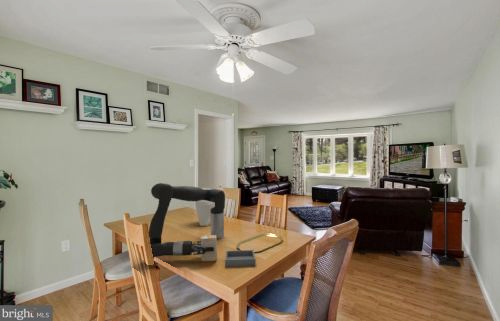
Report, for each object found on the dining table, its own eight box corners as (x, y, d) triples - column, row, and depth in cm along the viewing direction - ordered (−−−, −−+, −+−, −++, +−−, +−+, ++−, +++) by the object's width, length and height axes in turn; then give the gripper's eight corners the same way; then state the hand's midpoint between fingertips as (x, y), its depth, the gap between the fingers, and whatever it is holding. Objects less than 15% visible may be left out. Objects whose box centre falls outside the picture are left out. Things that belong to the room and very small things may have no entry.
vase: (200, 228, 187) (199, 191, 186) (192, 224, 198) (191, 189, 197) (216, 224, 196) (216, 189, 195) (208, 220, 207) (207, 187, 206)
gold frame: (288, 240, 161) (288, 238, 161) (251, 257, 137) (251, 254, 137) (267, 234, 175) (267, 231, 175) (230, 247, 150) (230, 245, 150)
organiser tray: (226, 256, 136) (226, 250, 136) (253, 255, 137) (253, 249, 137) (225, 266, 125) (225, 260, 125) (255, 265, 126) (255, 259, 126)
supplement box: (217, 257, 135) (216, 234, 135) (216, 261, 131) (216, 237, 130) (202, 258, 135) (202, 235, 135) (201, 262, 130) (200, 238, 130)
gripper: (179, 246, 124) (212, 245, 126) (185, 236, 139) (215, 235, 140) (180, 260, 125) (213, 259, 126) (185, 249, 139) (215, 248, 140)
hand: (213, 247), depth 133 cm, fingers closed on supplement box, 5 cm apart
